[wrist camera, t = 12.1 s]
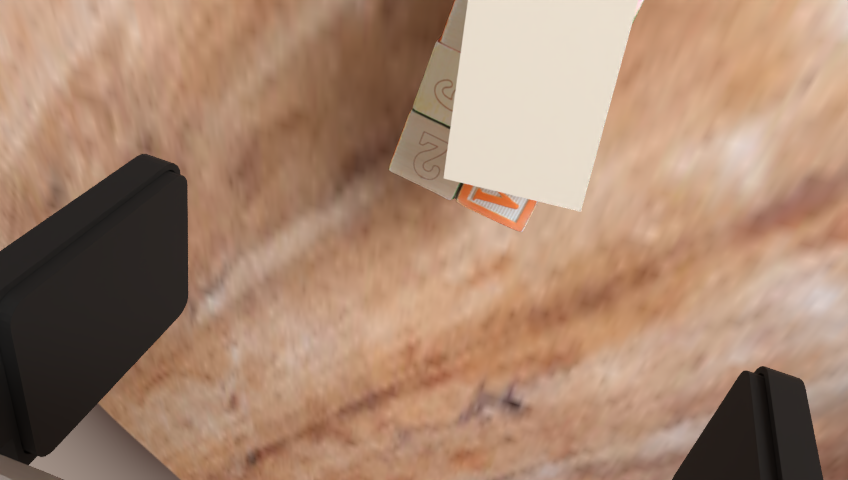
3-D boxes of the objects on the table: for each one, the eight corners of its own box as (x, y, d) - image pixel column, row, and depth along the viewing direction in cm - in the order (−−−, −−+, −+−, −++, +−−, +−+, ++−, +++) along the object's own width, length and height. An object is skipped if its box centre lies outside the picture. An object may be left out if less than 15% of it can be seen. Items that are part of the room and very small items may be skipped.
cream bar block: (668, -124, 21) (665, -101, 17) (596, 145, 26) (581, 211, 22) (521, -147, 22) (485, -129, 18) (478, 118, 27) (443, 178, 23)
